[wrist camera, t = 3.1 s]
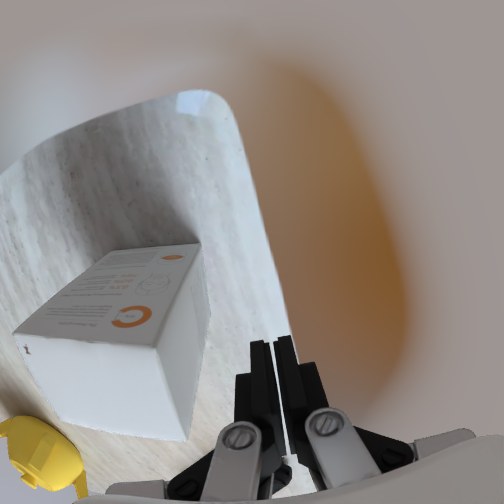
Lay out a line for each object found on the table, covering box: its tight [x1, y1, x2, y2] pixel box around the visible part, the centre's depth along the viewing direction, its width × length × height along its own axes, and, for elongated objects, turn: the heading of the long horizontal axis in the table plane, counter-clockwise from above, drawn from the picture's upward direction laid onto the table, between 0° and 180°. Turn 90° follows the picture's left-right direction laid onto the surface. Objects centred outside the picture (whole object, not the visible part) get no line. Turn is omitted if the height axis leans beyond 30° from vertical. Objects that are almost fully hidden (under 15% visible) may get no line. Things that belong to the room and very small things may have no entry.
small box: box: [12, 243, 211, 442], centre depth 16 cm, size 8×6×13 cm
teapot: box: [0, 416, 88, 499], centre depth 26 cm, size 17×17×12 cm
